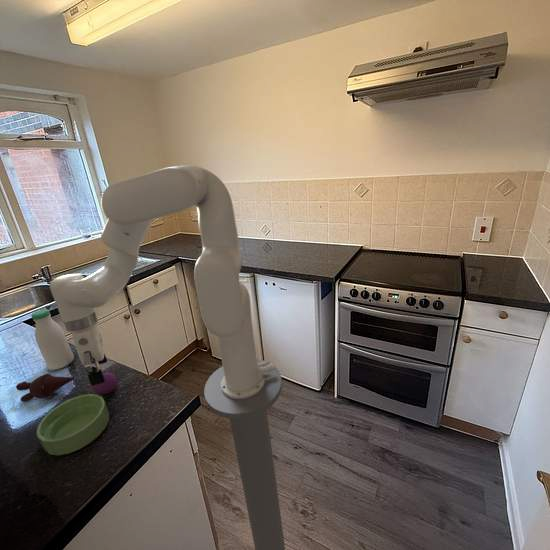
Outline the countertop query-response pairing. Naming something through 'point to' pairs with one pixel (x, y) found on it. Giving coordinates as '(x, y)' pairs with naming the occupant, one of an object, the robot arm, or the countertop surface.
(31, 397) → the brown gnome figurine
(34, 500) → the countertop surface
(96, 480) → the countertop surface
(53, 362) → the milk bottle
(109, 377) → the ball
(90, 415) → the bowl
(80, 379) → the countertop surface
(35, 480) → the countertop surface
